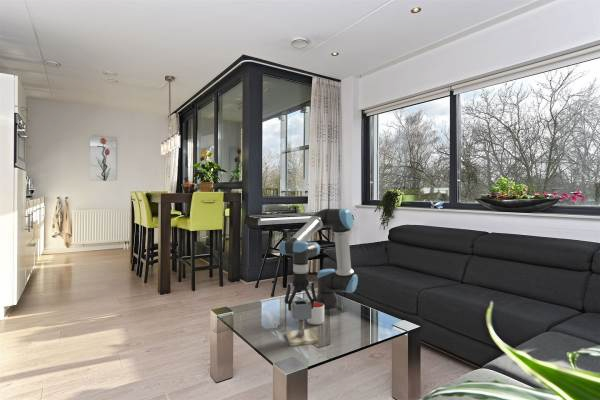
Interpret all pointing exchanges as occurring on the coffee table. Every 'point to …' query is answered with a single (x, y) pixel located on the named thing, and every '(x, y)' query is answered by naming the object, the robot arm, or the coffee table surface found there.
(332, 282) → the robot arm
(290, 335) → the shaft block
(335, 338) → the coffee table surface
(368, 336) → the coffee table surface
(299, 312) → the collar
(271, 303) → the coffee table surface
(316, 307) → the cup
